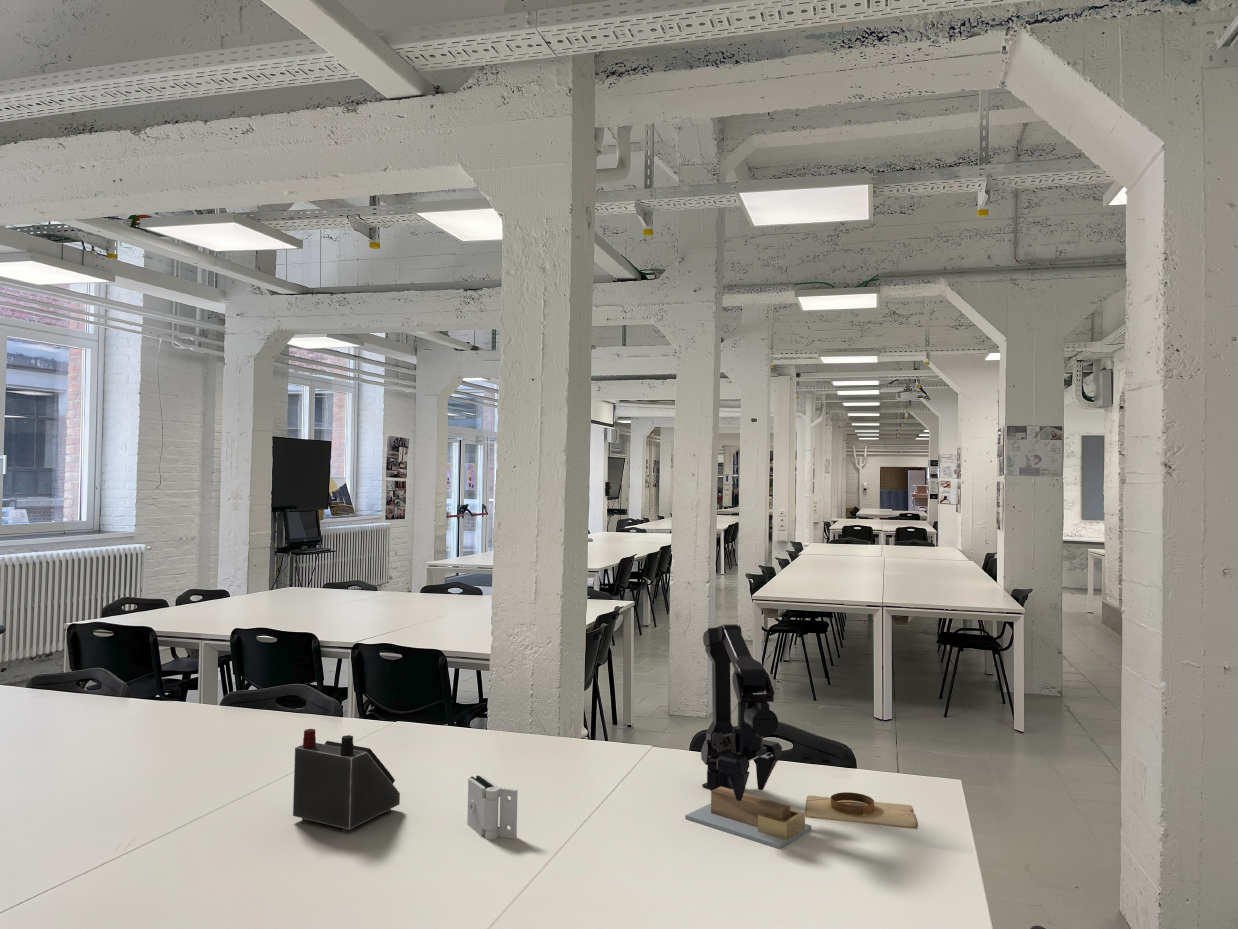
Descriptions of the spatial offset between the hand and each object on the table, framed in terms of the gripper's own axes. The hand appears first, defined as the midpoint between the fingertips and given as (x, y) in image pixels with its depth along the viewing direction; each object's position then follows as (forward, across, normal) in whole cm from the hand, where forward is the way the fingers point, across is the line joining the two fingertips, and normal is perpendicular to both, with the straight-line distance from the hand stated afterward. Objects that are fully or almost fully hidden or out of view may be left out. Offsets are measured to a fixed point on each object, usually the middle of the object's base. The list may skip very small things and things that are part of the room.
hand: (749, 795), depth 185 cm
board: (+7, -24, +14) cm, 29 cm away
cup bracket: (+6, 0, +8) cm, 10 cm away
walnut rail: (+6, 0, 0) cm, 6 cm away
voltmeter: (+7, +57, -70) cm, 90 cm away
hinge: (+7, +41, -40) cm, 57 cm away
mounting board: (+6, 0, -1) cm, 7 cm away
